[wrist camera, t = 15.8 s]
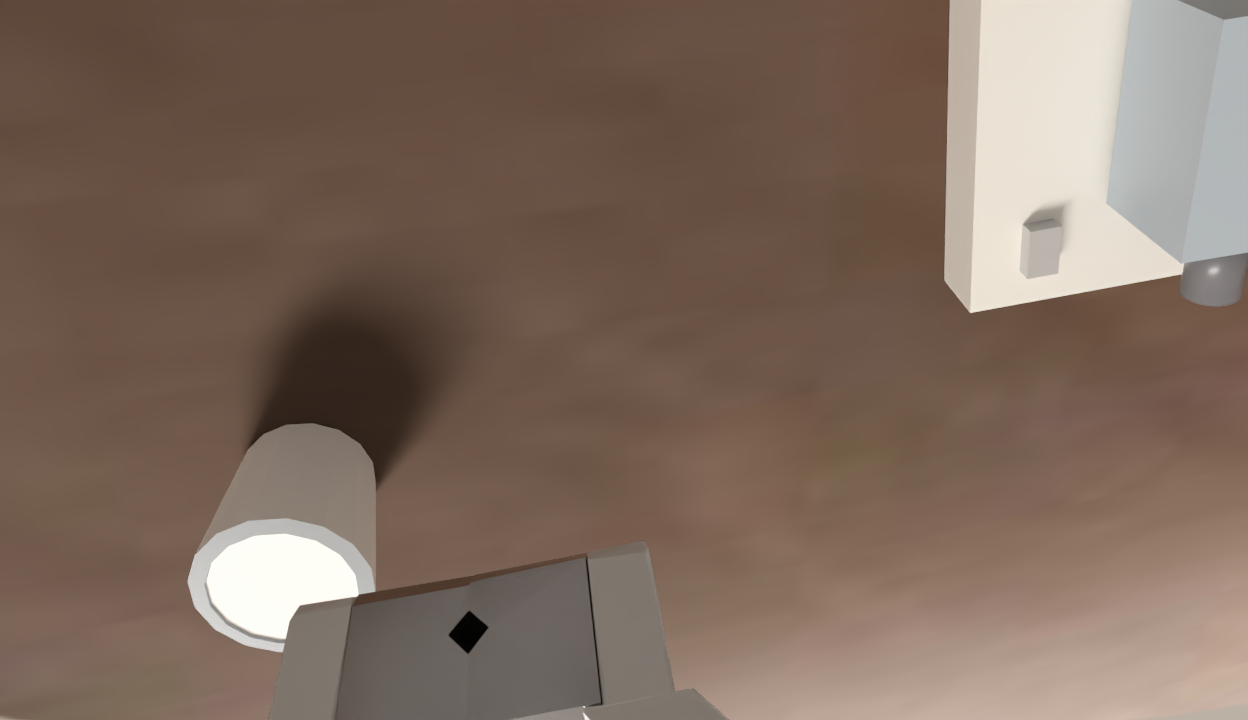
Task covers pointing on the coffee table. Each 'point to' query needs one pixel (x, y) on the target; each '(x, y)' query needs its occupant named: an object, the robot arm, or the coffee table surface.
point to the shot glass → (288, 534)
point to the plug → (1187, 140)
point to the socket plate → (1037, 153)
